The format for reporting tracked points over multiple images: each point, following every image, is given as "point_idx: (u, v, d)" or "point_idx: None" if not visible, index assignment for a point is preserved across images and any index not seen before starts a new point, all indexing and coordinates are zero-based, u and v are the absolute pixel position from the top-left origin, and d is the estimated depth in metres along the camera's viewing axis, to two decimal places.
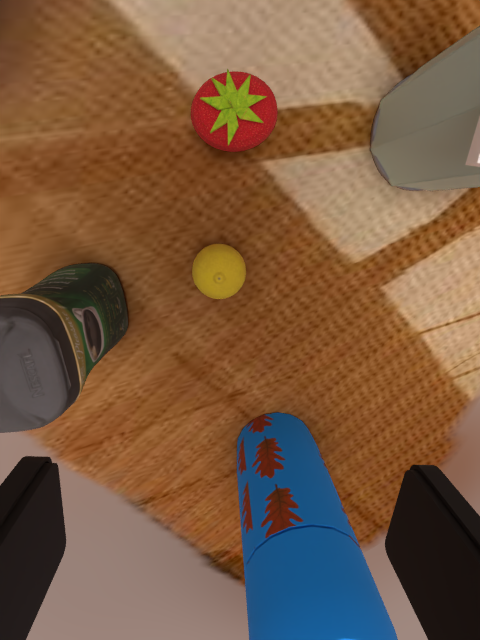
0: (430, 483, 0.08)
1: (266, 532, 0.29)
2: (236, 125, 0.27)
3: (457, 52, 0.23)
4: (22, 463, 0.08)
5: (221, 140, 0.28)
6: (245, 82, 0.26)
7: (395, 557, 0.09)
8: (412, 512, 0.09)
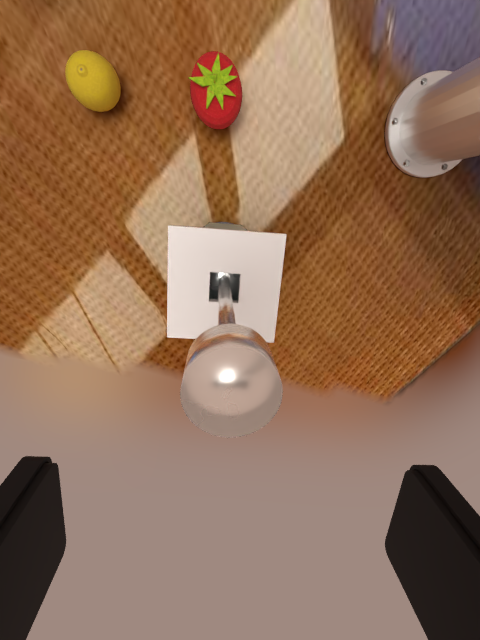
0: (430, 483, 0.08)
1: None
2: (202, 84, 0.36)
3: None
4: (22, 463, 0.08)
5: (194, 75, 0.37)
6: (230, 91, 0.36)
7: (395, 557, 0.09)
8: (412, 512, 0.09)
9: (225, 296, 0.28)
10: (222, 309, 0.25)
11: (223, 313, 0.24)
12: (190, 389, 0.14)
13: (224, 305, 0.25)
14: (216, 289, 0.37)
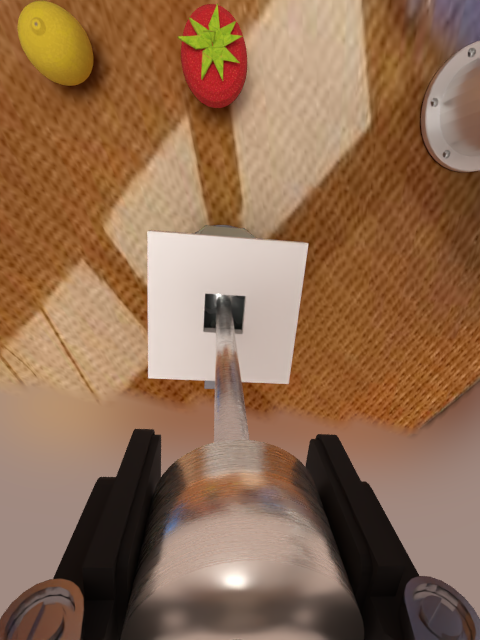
0: (326, 449, 0.09)
1: None
2: (196, 46, 0.27)
3: (250, 236, 0.29)
4: (136, 434, 0.09)
5: (185, 36, 0.28)
6: (232, 56, 0.28)
7: None
8: (312, 476, 0.09)
9: (225, 333, 0.20)
10: (221, 361, 0.16)
11: (223, 370, 0.15)
12: None
13: (224, 353, 0.17)
14: (213, 312, 0.29)
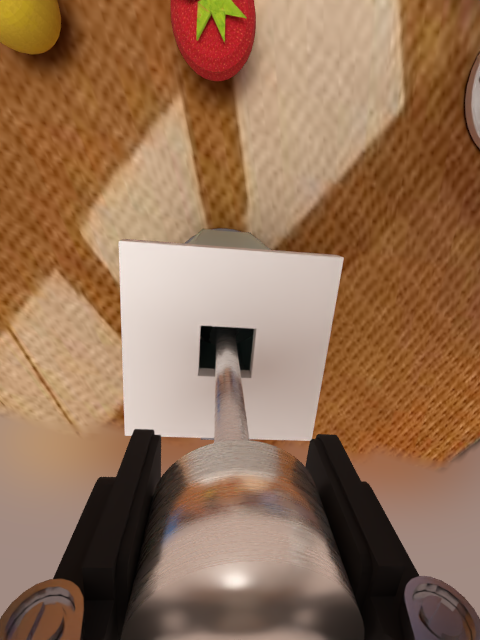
0: (326, 449, 0.09)
1: None
2: None
3: (260, 244, 0.22)
4: (136, 434, 0.09)
5: None
6: (237, 9, 0.21)
7: None
8: (312, 476, 0.09)
9: (226, 333, 0.20)
10: (221, 361, 0.16)
11: (223, 370, 0.15)
12: None
13: (225, 354, 0.17)
14: None
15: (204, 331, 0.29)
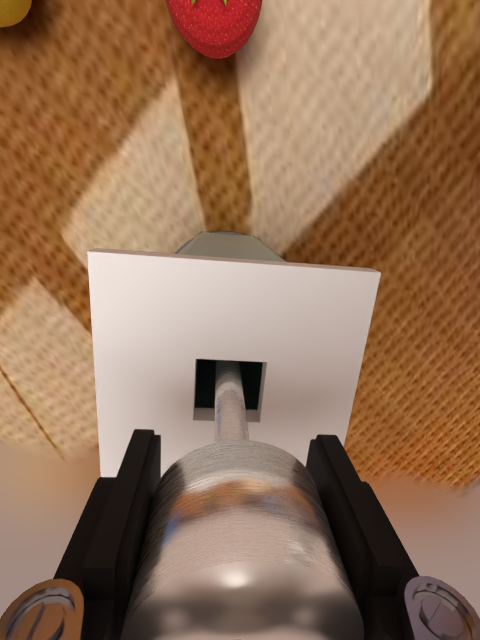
0: (326, 450, 0.09)
1: None
2: None
3: (270, 252, 0.18)
4: (136, 434, 0.09)
5: None
6: None
7: None
8: (312, 476, 0.09)
9: None
10: (221, 360, 0.16)
11: (223, 370, 0.15)
12: None
13: None
14: None
15: None
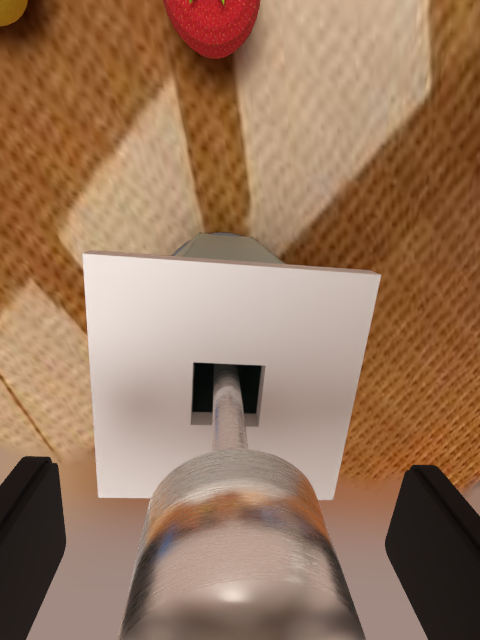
0: (430, 484, 0.08)
1: None
2: None
3: (268, 254, 0.18)
4: (22, 463, 0.08)
5: None
6: None
7: (395, 558, 0.09)
8: (412, 512, 0.09)
9: None
10: (220, 364, 0.16)
11: (221, 374, 0.15)
12: None
13: None
14: None
15: None
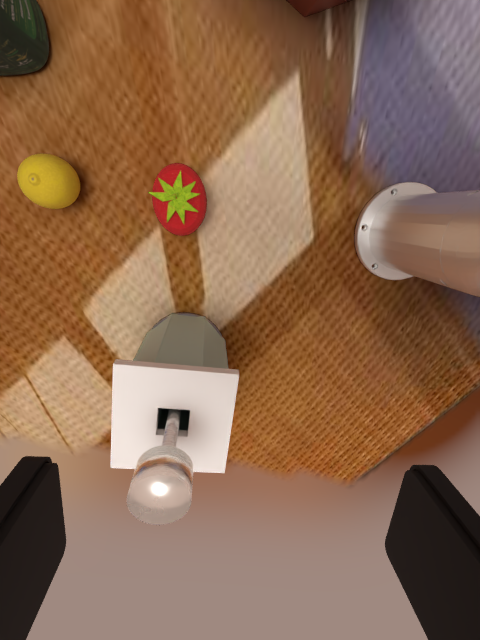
0: (430, 483, 0.08)
1: None
2: (162, 199, 0.34)
3: (201, 349, 0.36)
4: (22, 463, 0.08)
5: (155, 187, 0.35)
6: (192, 207, 0.35)
7: (395, 557, 0.09)
8: (412, 512, 0.09)
9: None
10: None
11: (171, 412, 0.32)
12: (133, 497, 0.23)
13: None
14: None
15: None
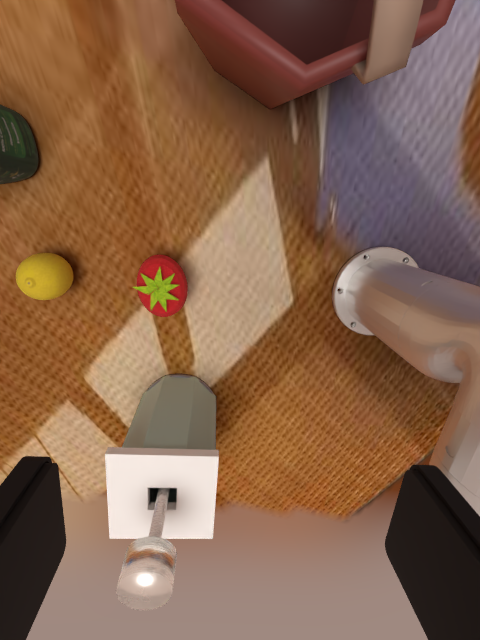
0: (430, 483, 0.08)
1: None
2: (145, 292, 0.38)
3: (187, 424, 0.39)
4: (22, 463, 0.08)
5: (139, 279, 0.38)
6: (173, 297, 0.38)
7: (395, 557, 0.09)
8: (412, 512, 0.09)
9: None
10: None
11: (161, 488, 0.36)
12: (121, 590, 0.27)
13: None
14: None
15: None
